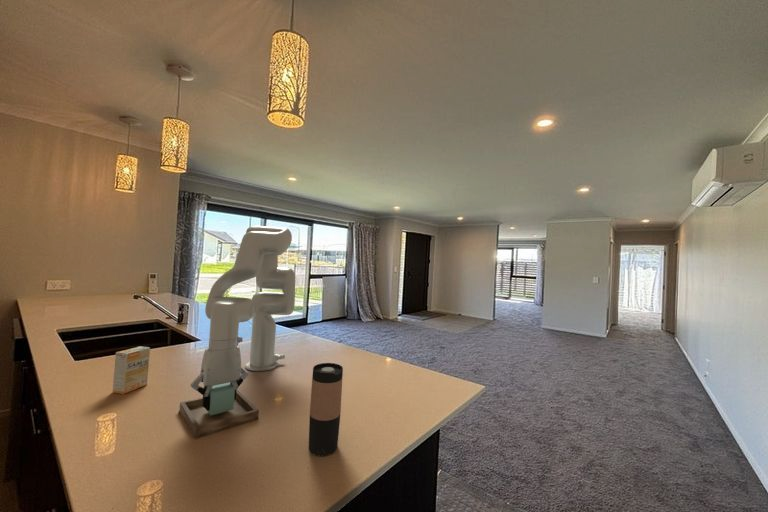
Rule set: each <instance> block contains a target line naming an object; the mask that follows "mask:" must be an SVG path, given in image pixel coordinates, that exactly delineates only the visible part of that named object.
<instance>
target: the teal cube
mask: <svg viewBox="0 0 768 512" xmlns="http://www.w3.org/2000/svg"><path fill="white" fill-rule="evenodd" d="M234 395H235V388H234V387H233V386H232V385H231V384H230V382H228V383H224V384H219V385H214V386H213V387H212V389H211V391H210V393H209V396H210V409H209V410H208V412H209V414H210V415H215V414H218V413H222V412H226V411H229V410H233V409H234Z"/></svg>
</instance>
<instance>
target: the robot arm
mask: <svg viewBox="0 0 768 512" xmlns="http://www.w3.org/2000/svg"><path fill="white" fill-rule="evenodd" d="M292 241H293V235H292V232H291V230H290V229H288V228H287V227H281V226H280V227H279V226H277V227H276V226H268V225H267V226H266V225H264V226H263V225H252V226H249V227H248V228H247V229H246V230H245V234H243V236H242V239H241V242H240V245H239V249H238V251H237V254H236V258H235V262H234V265H233V266H232V268H229V270H226V271H225V272H224V273H223V274H222V275H220V276H219V278H218V279H216V281H215V282H214V283H213V285H212V286H211V288H210V291H209V294H208V298H207V300H206V304H205V310H204V312H205V316H206V317H207V318H208V319H209V320H210V323H209V336H208V337H209V338H208V347H207V348H205V349H204V351H203V352H204V353H203V356H202V359H201V360H202V361H201V365H200V373H199V375H198V376H197V377H196V378H195V379H194V380H193V381H192V382H191V383H190V387H191V388H192V389H193V390H194V391H197V393H199V394H201V395H202V397H203V402H202V406H203V407H204V408H205V409H206V410H207V411H208V410H209V409H210V396H209V393H210V391H211V389H212V387H213V386H214V385H219V384H224V383H228V382H229V383H230V384H231V385H232V386H233V387H234V388H235V395H234V399H236V390H239V387H240V385H241V384H242V383H243V382H244V380H246V379H247V377H249V373H248V372H247V371H246V370H249V371H253V372H265V371H271V370H274V369H275V368H277V366H278V360H285V359H286V355H285V354H279V353H278V354H275V349H276V348H275V347H276V335H277V334H276V333H277V324H276V321H275V319H274V317H273V315H274V316H289V315H292V314H293V312H294V310H295V305H296V304H295V303H296V274H295V271H294V270H293V268H290V267H280V266H279V265H278V263H279V256H281V255H283V254H284V253H286V251H287V250H288V249H289V248H290V246H291V244H292ZM254 278H255V283H256V286H257V287H258V288H259V289H262V290H263V289H264V290H277V291H278V290H279V291H282V292H279V291H278V292H277V291H259V292H256V293H254V294H253V295H252V297H251V298H248V297H234V296H224V295H225V293H226V292H227V291H228V290H229V289H230V288H232V287H233V286H235V285H237V284H240V283H243V282H245V281H248V280H250V279H254ZM251 319H252V322H251V323H252V324H251V325H252V326H251V339H250V341H251V342H250V352H249V361H248V362H246V363H245V365H244V366H245V368H246V370H245V369H243V368H242V357H241V347H240V346H239V344H240V343H242V342H243V337H242V336H241V337H240V336H239V327H240V324H239V323H244V322H249V321H250V320H251ZM200 383H203V387H202V386H201V385H199V384H200Z"/></svg>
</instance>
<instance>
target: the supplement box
mask: <svg viewBox="0 0 768 512" xmlns="http://www.w3.org/2000/svg"><path fill="white" fill-rule="evenodd" d="M150 355H151V347H149V346H136V347H132V348H128V349H124V350H120V351H116V352H115V358H114V370H113V371H114V373H113V380H112V381H113V383H112V393H116V394H121V395H124V394H127V393H129V392H132V391H134V390H137V389H140V388H141V387H145V386H147V385H148V379H149V377H148V375H149V368H150V367H149V365H150V364H149V363H150Z"/></svg>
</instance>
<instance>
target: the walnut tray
mask: <svg viewBox="0 0 768 512" xmlns="http://www.w3.org/2000/svg"><path fill="white" fill-rule="evenodd" d="M202 402H203V396H202V397H198V398H193V399H189V400H184V401H180V402H179V413H180V414H181V416H182V418H183V420H184V421H185V423H186V425H187V427H188V429H189V430H190V433H192V436H193V437H194V439H198V438H202V437H204V436H205V437H206V436H208V435H211V434H214V433H215V434H216V433H218V432H220V431H224V430H228V429H231V428H234V427H236V426H240V425H243V424H246V423H249V422H250V423H251V422H253V421H256V420H259V413H260V410H259V409H258V407H256V405H254V404H253V403H252V402H251V401H250V400H249V399H248V398H247V397H246V396H245V395H244V394H242V392H241V391H240V390H239V389H237V390H236V399H234V409H233V410H229V411H226V412H222V413H218V414H215V415H210V414H209V412H208V411H207V410H206V409H205V408H204V407H203V406H202Z"/></svg>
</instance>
